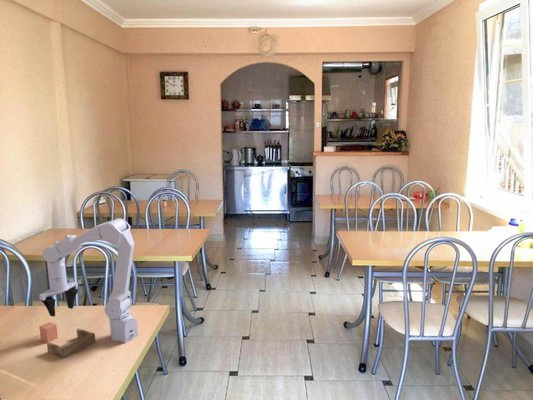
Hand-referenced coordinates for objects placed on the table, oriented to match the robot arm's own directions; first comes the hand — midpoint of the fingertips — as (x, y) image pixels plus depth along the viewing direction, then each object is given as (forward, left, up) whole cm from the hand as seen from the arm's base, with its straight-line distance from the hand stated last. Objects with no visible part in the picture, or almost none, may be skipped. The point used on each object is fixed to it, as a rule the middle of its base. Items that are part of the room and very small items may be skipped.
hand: (61, 311), depth 167 cm
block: (+1, +5, -9) cm, 11 cm away
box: (-12, +5, -9) cm, 16 cm away
